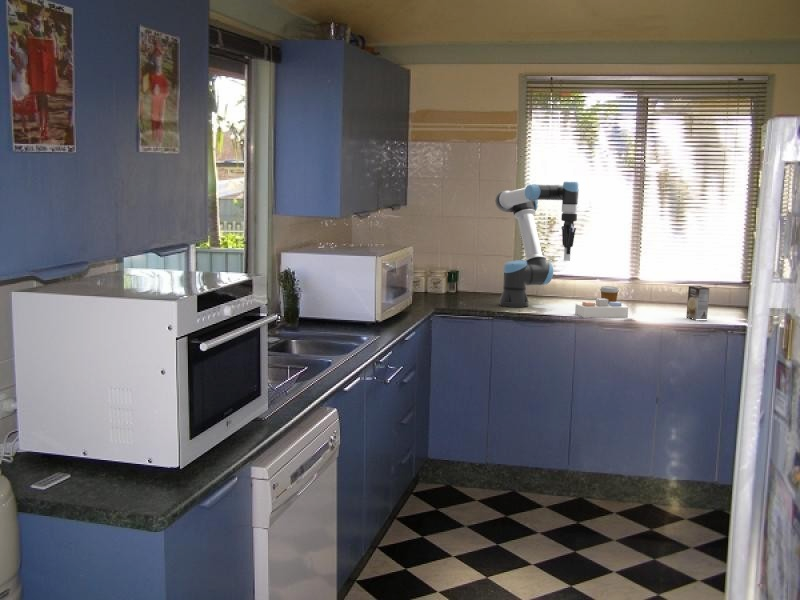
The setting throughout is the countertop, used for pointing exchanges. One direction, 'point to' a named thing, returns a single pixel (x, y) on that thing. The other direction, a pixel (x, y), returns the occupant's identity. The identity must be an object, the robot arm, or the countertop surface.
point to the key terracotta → (588, 304)
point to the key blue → (614, 303)
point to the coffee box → (697, 302)
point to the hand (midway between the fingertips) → (566, 260)
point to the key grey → (601, 302)
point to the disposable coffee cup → (609, 293)
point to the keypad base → (601, 311)
